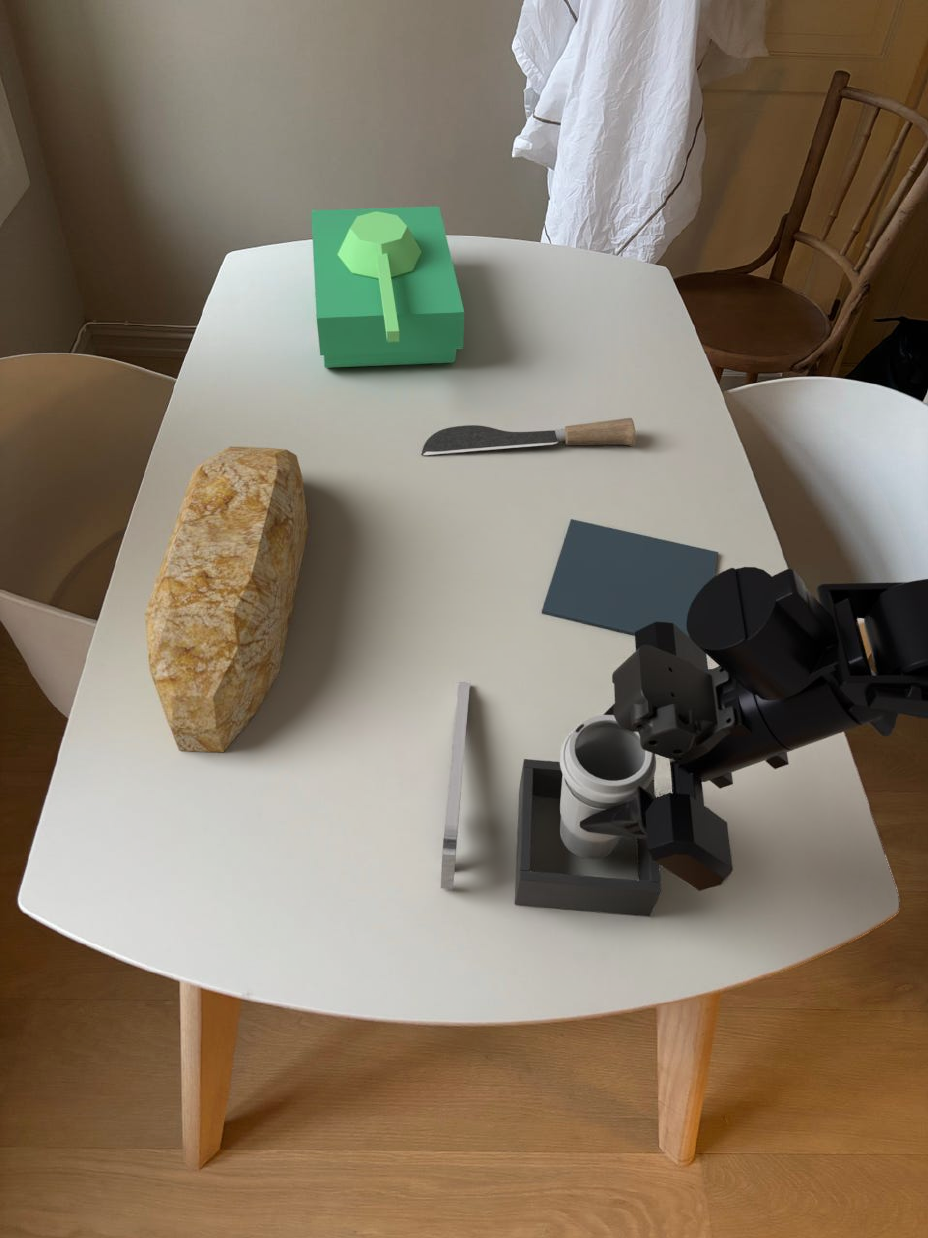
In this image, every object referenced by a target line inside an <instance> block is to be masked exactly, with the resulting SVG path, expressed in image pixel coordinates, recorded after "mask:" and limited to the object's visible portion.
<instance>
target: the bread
mask: <svg viewBox="0 0 928 1238" xmlns="http://www.w3.org/2000/svg"><path fill="white" fill-rule="evenodd" d="M303 481H304V479H303V473H302V471H301V467H300V463H299V460H298V455H296V454H295V453H293V452H291V451H290V450H289V449H286V448H285V449H284V448H277V447H260V446H259V447H258V446H257V447H256V446H229V447H227V448H225V449H224V450H222V451H220V452H218V453H217V454H215V455H213V456H212V457H210V458H208V459H207V460H205V461H203V462H202V463H200V464H198V465H197V466H196V467H195V468H194V469H193V471H192V474H191V477H190V479H189V481H188V482H189V483H188V484H187V485H188V486H187V488H186V491H185V494H184V497H183V499H182V502H181V506H180V509H179V512H178V515H177V518H176V521H175V524H174V527H173V529H172V532H171V536H170V539H169V540H168V544H167V548H166V550H165V553H164V556H163V559H162V562H161V565H160V568H159V570H158V574H157V577H156V580H155V582H154V586H153V588H152V592H151V594H150V596H149V597H150V598H149V601H148V604H147V606H146V610H145V613H144V620H145V633H146V643H147V654H148V666H149V667H148V668H149V673H150V676H151V678H152V681H153V685H154V688H155V690H156V693H157V696H158V698H159V701H160V704H161V708H162V710H163V713H164V715H165V719H166V720H167V723H168V726H169V728H170V731H171V733H172V734H171V735H172V736H173V739H174V742H175V745H176V746H177V749H178V751H180V752H181V751H182V752H183V751H184V752H185V751H188V752H204V753H224V752H225V751H226V750H227V748H228V747H229V746H230V745H231V744H232V743H233V741H235V739H236V738H237V736H238V735H239V734H241V732H242V731H243V730H244V728H245V727H246V726H247V725H248V724H249V723H250V721H251V720H252V719H253V718H254V717H255V715H256V713H257V711H258V710H259V708H260V706H261V704H262V703H263V701H264V700H265V698H266V696H267V695H268V692H269V691H270V689H271V687H272V685H273V683H274V682H275V680H276V678H277V677H278V675H279V673H280V671H281V668H282V667H281V665H282V661H283V656H284V653H285V646H286V643H287V642H286V641H287V637H288V632H289V626H290V622H291V617H292V613H293V612H292V611H293V607H294V602H295V597H296V592H297V587H298V583H299V578H300V571H301V567H302V562H303V557H304V553H305V547H306V543H307V538H308V532H309V523H308V516H307V506H306V499H305V498H306V496H305V488H304V482H303Z"/></svg>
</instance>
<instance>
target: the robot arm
mask: <svg viewBox="0 0 928 1238" xmlns="http://www.w3.org/2000/svg"><path fill="white" fill-rule="evenodd" d="M816 592H817V598H818V600H817V599H816V597H814V596H813V594H812V593H811V592H810V591H809V590H808V588H807V587H806V584H805V582H804V580H803V579H802V577H800V575H799V574H798V573H797V572H796V571H795V570H794V569H792V568H786V569H784V570H782V571H780V572H778V573H776V574H774V575H771V574H770V573H768V572H767V571H765V570H764V569H762V568H759V567H755V566H744V567H737V568H735V567H730V568H728V569H725V570H722V572H720V573H718V574H717V575H715V577H713V578H712V579H711V580H710V581H709V582H708V583H707V584H705V585H704V586H703V588H702V589H701V590H700V591H699V592H698V594H697V595H696V597H695V598H694V600H693V602H692V603H691V606H690V609H689V611H688V615H687V622H686V626H687V631H688V634H689V636H690V638H689V637H688V636H687V635H686V634H685V633H684V632H682V631H681V630H680V629H679V628H678V627H677V626H676V625H675V624H674V623H670V622H660V621H656V622H654V623H652V624H650V625H648V626H646V627H644V628H642V629H640V630H638V631H636V632H635V636H634V639H635V640H634V643H635V651H633V653H632V654H631V655H630V656H629V657H628V658H627V659H626V660H624V661H623V662H622V664H620V665H619V666H618V667H617V668H616V669H615V670H614V671H613V672H612V675H611V682H612V684H613V687H614V688H613V689H614V690H613V692H614V693H613V694H614V703H612V705H611V706H610V708H608V709H607V710H606V711H605V712H604V713H603V714H602V715H614V717H615V719H616V721H617V723H618V724H619V725H620V726H621V727H622V728H624V729H626V730H628V731H631V732H638V733H639V736H640V745H641V748H642V749H643V750H646V751H648V752H651V753H654V754H655V755H656V756H660V757H663V758H665V759H668V761H669V768H670V781H671V792H667V793H665V794H662V795H659V796H657V797H656V795H655V796H653V795H652V794H650V793H649V792H648V791H646V790H645V789H643V788H642V787H641V786H638V787H637V789H636V792H635V795H634V797H633V799H632V800H631V801H628V802H626V803H623V804H620V805H617V806H615V807H612V808H609V809H606V810H604V811H601V812H598V813H595V814H593V815H591V816H589V817H587V818H585V819H584V820H582V821H580V828H582V829H583V830H585V831H587V832H590V833H598V834H607V835H615V836H620V837H624V838H631V839H632V838H633V839H636V838H639V839H645V840H647V845H648V851H649V853H650V855H651V857H652V859H653V861H654V862H656V863H657V864H659V865H660V867H662V868H663V869H665V870H666V871H668V872H669V873H671V874H673V875H674V876H675V877H676V878H679V879H680V880H681V881H683V882H685V883H686V884H688V885H689V886H690V887H692V888H694V889H696V890H697V891H698V892H701V891H704V890H708V889H711V888H715V887H718V886H719V887H720V886H721V885H723V884H725V882H727V880H729V879H730V876H731V875H732V873H733V871H734V867H733V858H732V851H731V850H732V849H731V844H730V834H729V826H728V822H727V820H725V819H724V818H722V817H721V816H719V815H718V814H717V813H715V812H714V811H713V810H711V809H710V808H709V807H707V806H706V805H705V800H704V799H705V798H704V789H703V783H707V782H711V783H712V784H713V785H715V786H716V787H717V788H718V789H720V790H721V789H723V788H727V787H729V786H731V785H732V786H733V785H734V780H733V773H734V772H736V771H739V770H742V769H745V768H748V767H750V766H753V765H756V764H759V763H762V762H765V763H767V764H768V765H769V766H770V767H771V768H773V769H774V770H776V769H780V768H783V767H785V766H788V765H790V763H789V758H788V753H789V752H792V751H794V750H797V749H800V748H803V747H806V746H808V745H811V744H814V743H816V742H819V741H823V740H825V739H827V738H830V737H834V736H836V735H839V734H842V733H844V732H847V731H849V730H852V729H854V728H857V727H860V726H863V725H865V724H868V725H870V726H871V727H872V728H873V730H874V731H876V732H877V733H878V734H879V735H880V736H882V737H890V736H891V735H892V734H893V732H894V730H895V728H896V724H897V720H898V718H899V715H905V716H909V717H914V718H917V719H926V720H928V578H924V579H917V580H912V581H904V582H903V581H900V582H898V581H897V582H856V583H855V582H854V583H853V582H851V583H849V582H848V583H822V584H820V585H818V586H817V587H816ZM858 618H859V619H862V620H863V621H864V622H863V625H864V631H865V635H866V639H867V643H868V647H869V650H870V654H871V659H872V661H873V665H874V669H875V670H873V669H872V668H871V666H870V662H869V659H868V654H867V651H866V647H865V643H864V639H863V634H862V632H861V628H860V627H861V626H860V624H859V621H858ZM707 656H708V657H709V658H710V659H711V660H712V661H713V662H715V664H717V665H718V666H716V667H715V668H714V667H713V668H709V664H708V657H707Z"/></svg>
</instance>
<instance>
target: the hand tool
mask: <svg viewBox="0 0 928 1238" xmlns="http://www.w3.org/2000/svg"><path fill="white" fill-rule="evenodd" d="M559 442H564V443H565V445H566V446H591V445H592V446H593V445H594V446H595V445H599V446H600V445H624V446H634V445H635V443H636V427H635V422H634V419H633V418H632V417H625V418H617V419H610V420H602V421H594V422H586V423H580V424H571V425H566V426H564V428H561V429H551V430H535V431H532V430H531V431H509V430H504V429H503V430H502V429H498V428H495V427H490V426H487V425H486V426H485V425H480V424H479V425H475V424H471V425H470V424H468V425H457V426H451V427H446V428H442V429H440V430H437V431H436V432H434V433H433V434H431V436H430V437H428V438H427V440H426V441H425V442H424V444H423V446H422V451H421V456H434V455H442V454H443V455H445V454H456V453H467V452H478V451H491V450H503V449H515V448H528V447H539V446H540V447H542V446H550V445H551V446H552V445H556V444H558V443H559Z"/></svg>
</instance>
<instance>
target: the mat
mask: <svg viewBox="0 0 928 1238" xmlns="http://www.w3.org/2000/svg"><path fill="white" fill-rule="evenodd" d="M718 557H719V551H715V550H711V549H706V548H702V547H698V546H693V545H688V544H685V543H679V542H675V541H671V540H666V539H662V538H657V537H653V536H650V535H649V536H648V535H644V534H639V533H635V532H631V531H627V530H623V529H617V528H613V527H608V526H604V525H599V524H596V523H591V522H587V521H581V520H577V519H573V518H570V520H569V524H568V527H567V530H566V533H565V537H564V540H563V543H562V546H561V550H560V552H559V556H558V558H557V562H556V565H555V568H554V571H553V574H552V578H551V580H550V584H549V587H548V590H547V593H546V597H545V599H544V601H543V606H542V608H541V614H544V615H548V616H551V617H556V618H560V619H564V620H568V621H573V622H576V623H581V624H585V625H588V626H593V627H598V628H601V629H605V630H609V631H614V632H618V633H623V634H625V635H630V636H634V637H635V632H636V631H638V630H640V629H642V628H644V627H646V626H648V625H650V624H652V623H654V622H656V621H660V622H670V623H674V624H675V625H676V626H677V627H678V628H679V629H680V630H681V631H682V632H684V633H685V634H686V635H687V636H688V637H689V638H690V636H689V634H688V631H687V626H686V622H687V615H688V611H689V609H690V606H691V603H692V602H693V600H694V598H695V597H696V595H697V594H698V592H699V591H700V590H701V589H702V588H703V586H704V585H705V584H707V583H708V582H709V581H710V580H711V579H712V578H713V577H715V576H716V572H717V571H716V570H717V564H718V559H719V558H718Z"/></svg>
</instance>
